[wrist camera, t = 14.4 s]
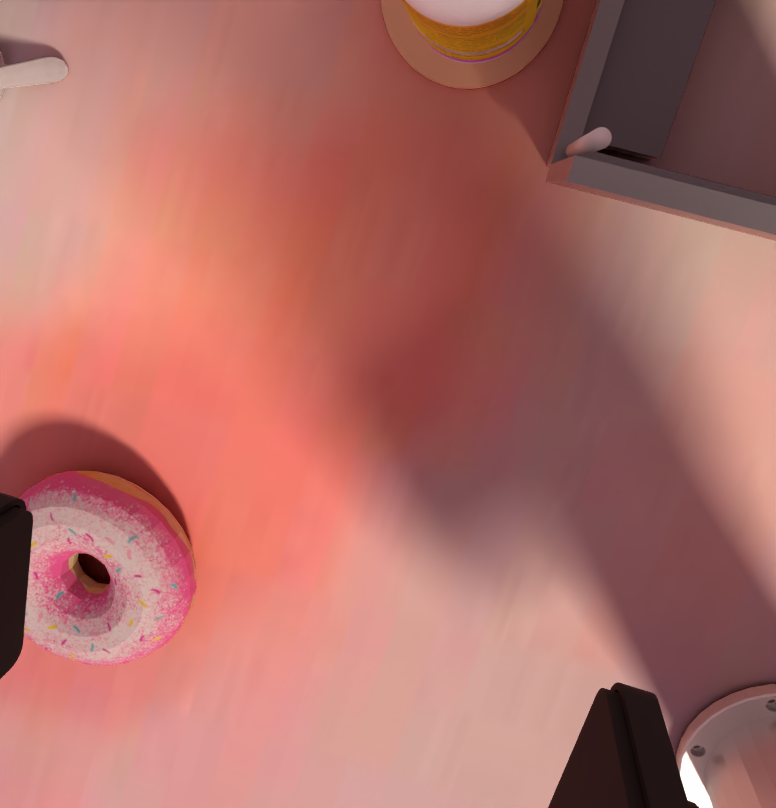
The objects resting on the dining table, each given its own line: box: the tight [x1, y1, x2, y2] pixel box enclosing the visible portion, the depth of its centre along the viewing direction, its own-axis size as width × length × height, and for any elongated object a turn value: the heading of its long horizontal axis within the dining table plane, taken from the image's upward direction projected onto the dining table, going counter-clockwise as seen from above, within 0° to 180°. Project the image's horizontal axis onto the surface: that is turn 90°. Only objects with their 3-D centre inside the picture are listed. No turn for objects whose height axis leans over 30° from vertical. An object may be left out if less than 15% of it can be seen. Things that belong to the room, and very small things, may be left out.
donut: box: [19, 471, 196, 666], centre depth 46 cm, size 14×13×5 cm
